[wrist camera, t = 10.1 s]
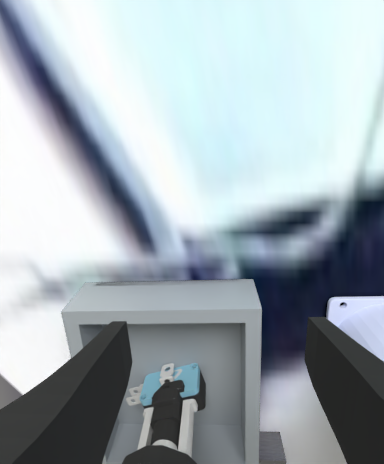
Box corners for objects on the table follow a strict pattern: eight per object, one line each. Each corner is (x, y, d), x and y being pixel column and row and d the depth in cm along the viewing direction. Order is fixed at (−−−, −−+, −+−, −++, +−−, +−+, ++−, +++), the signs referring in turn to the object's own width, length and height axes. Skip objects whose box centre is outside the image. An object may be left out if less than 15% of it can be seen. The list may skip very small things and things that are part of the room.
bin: (253, 279, 22) (261, 308, 18) (251, 427, 27) (258, 475, 23) (85, 282, 23) (61, 311, 19) (112, 425, 28) (96, 471, 24)
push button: (143, 409, 26) (104, 565, 17) (119, 362, 25) (62, 503, 15) (215, 393, 25) (217, 550, 16) (194, 343, 24) (184, 483, 14)
